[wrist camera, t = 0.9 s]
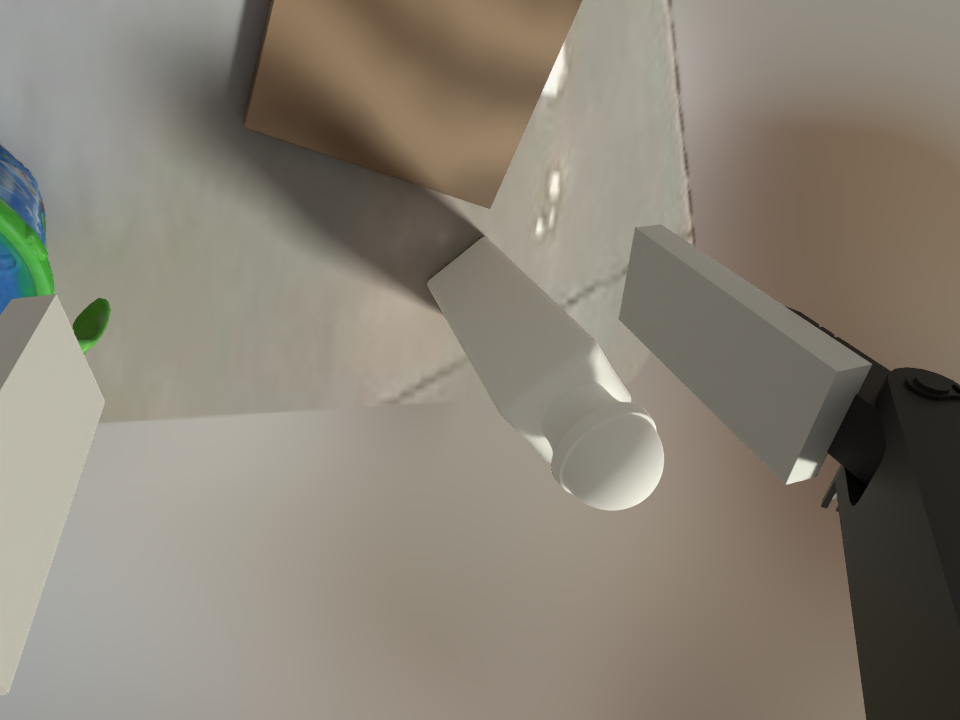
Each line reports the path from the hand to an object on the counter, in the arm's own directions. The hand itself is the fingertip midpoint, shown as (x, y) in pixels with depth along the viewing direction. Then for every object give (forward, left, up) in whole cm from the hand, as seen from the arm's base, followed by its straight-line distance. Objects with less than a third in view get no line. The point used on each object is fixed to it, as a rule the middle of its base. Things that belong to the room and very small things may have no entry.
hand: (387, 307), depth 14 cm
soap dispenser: (+8, +17, -24) cm, 31 cm away
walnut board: (-6, +7, -24) cm, 26 cm away
